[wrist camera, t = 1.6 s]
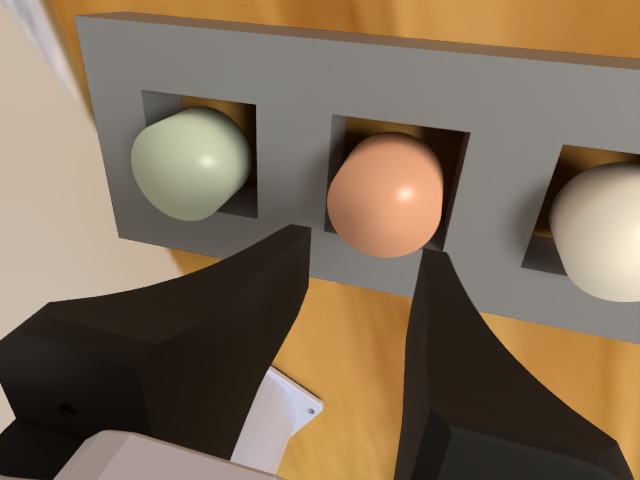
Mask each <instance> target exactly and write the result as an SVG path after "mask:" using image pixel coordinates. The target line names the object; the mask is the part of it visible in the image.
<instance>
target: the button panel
mask: <svg viewBox="0 0 640 480" xmlns="http://www.w3.org/2000/svg"><path fill="white" fill-rule="evenodd" d="M74 18H75V23H76V28H77V33H78V38H79V43H80V48H81V53H82V58H83V63H84V67H85V72H86V77H87V82H88V87H89V92H90V97H91V102H92V107H93V112H94V117H95V122H96V127H97V132H98V137H99V142H100V147H101V152H102V156H103V161H104V166H105V171H106V176H107V181H108V186H109V191H110V196H111V201H112V206H113V211H114V216H115V221H116V225H117V230H118V235H119V238H123V239H128V240H133V241H138V242H143V243H148V244H152V245H158V246H163V247H167V248H172V249H177V250H182V251H187V252H191V253H196V254H201V255H206V256H211V257H216V258H221V259H226V258H228V257H230V256H232V255H234V254H236V253H238V252H240V251H242V250H244V249H246V248H248V247H250V246H252V245H253V244H255V243H257V242H259V241H261V240H262V239H264V238H266V237H268V236H270V235H271V234H273V233H275V232H276V231H278V230H280V229H282V228H284V227H286V226H287V225H290V224H295V225H300V226H306V227H311V228H312V230H311V248H310V267H309V277H313V278H318V279H323V280H328V281H333V282H338V283H343V284H348V285H352V286H357V287H362V288H367V289H372V290H377V291H382V292H387V293H391V294H396V295H401V296H406V297H411V298H413V295H414V291H415V286H416V281H417V276H418V271H419V266H420V262H421V257H422V252H423V248H426V249H432V250H437V251H443V252H447V253H448V255H449V256H450V258H451V261H452V264H453V266H454V268H455V270H456V273H457V275H458V277H459V279H460V281H461V283H462V285H463V287H464V289H465V290H466V292H467V294H468V296H469V297H470V299H471V301H472V303H473V304H474V306H475V307H476V309H477V311H479V312H484V313H489V314H494V315H499V316H504V317H508V318H513V319H518V320H523V321H528V322H533V323H538V324H543V325H547V326H552V327H557V328H562V329H567V330H572V331H577V332H582V333H586V334H591V335H596V336H601V337H606V338H611V339H616V340H621V341H625V342H630V343H635V344H640V301H637V302H616V301H608V300H604V299H600V298H597V297H595V296H592V295H590V294H588V293H586V292H584V291H583V290H581V289H580V288H579V287H578V286H576V285H575V284H574V283H573V282H572V280H571V279H570V278H569V276H568V275H567V273H566V271H565V268H564V266H563V263H562V260H561V258H560V255H559V252H558V250H557V247H556V244H555V242H554V239H552V238H546V237H540V236H534V235H532V232H533V230H534V227H535V224H536V221H537V218H538V215H539V212H540V209H541V207H542V204H543V201H544V198H545V195H546V192H547V189H548V186H549V184H550V181H551V178H552V175H553V172H554V169H555V166H556V163H557V161H558V158H559V155H560V152H561V149H562V146H563V144H565V145H573V146H580V147H588V148H596V149H603V150H611V151H619V152H627V153H634V154H640V59H633V58H622V57H611V56H600V55H589V54H578V53H568V52H557V51H546V50H535V49H524V48H513V47H502V46H491V45H480V44H469V43H459V42H448V41H437V40H426V39H415V38H404V37H393V36H382V35H371V34H360V33H349V32H339V31H328V30H317V29H306V28H295V27H284V26H273V25H262V24H251V23H240V22H229V21H219V20H208V19H197V18H186V17H175V16H164V15H153V14H142V13H131V12H114V13H102V14H89V15H77V16H74ZM181 95H186V96H194V97H202V98H209V99H217V100H225V101H233V102H240V103H248V104H256V128H257V189H256V188H250V187H244V186H242V187H241V188H240V189H239V190H238V191H237V192H236V193H235V194H234V195H232V196H231V197H230V198H229V199H228V200H227V201H226V202H225V203H224V204H223V205H222V206H221V207H220V208H219V209H218V210H216V211H215V212H214V213H213V214H212V215H210V216H209V217H207V218H205V219H202V220H197V221H185V220H180V219H176V218H174V217H171V216H169V215H167V214H165V213H163V212H162V211H160V210H159V209H158V208H156V207H155V206H154V205H153V204H152V203H151V202H150V201H149V200H148V199H147V198H146V197H145V195H144V194H143V193H142V191H141V189H140V188H139V186H138V184H137V182H136V180H135V177H134V174H133V170H132V165H131V152H132V147H133V144H134V142H135V140H136V138H137V136H138V135H139V134H140V133H141V132H142V131H143V130H144V129H146V128H147V127H149V126H151V125H153V124H155V123H157V122H160V121H162V120H164V119H166V118H168V117H170V116H173V115H175V114H177V113H179V112H181V111H183V107H182V97H181ZM347 116H349V117H356V118H364V119H372V120H379V121H387V122H395V123H403V124H410V125H418V126H426V127H433V128H441V129H449V130H457V131H464V137H463V141H462V146H461V150H460V154H459V159H458V163H457V167H456V172H455V176H454V181H453V185H452V189H451V194H450V198H449V203H448V207H447V211H446V216H445V220H440V222H439V225H438V227H437V229H436V231H435V233H434V234H433V236H432V237H431V238H430V240H429V241H428V242H427V243H426V244H424V245H423V246H422V247H421V248H419V249H418V250H416V251H414V252H412V253H410V254H407V255H404V256H399V257H391V258H382V257H375V256H371V255H368V254H365V253H362V252H360V251H358V250H356V249H355V248H353V247H351V246H350V245H349V244H348V243H346V242H345V241H344V240H343V239H342V238H341V237H340V236H339V234H338V233H337V232H336V230H335V229H334V227H333V225H332V223H331V220H330V217H329V214H328V208H327V198H328V192H329V189H330V186H331V183H332V181H333V179H334V178H335V176H336V175H337V173H338V172H339V170H340V168H341V167H342V165H343V155H344V144H345V132H346V121H347Z"/></svg>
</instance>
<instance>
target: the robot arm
mask: <svg viewBox="0 0 640 480" xmlns="http://www.w3.org/2000/svg"><path fill="white" fill-rule="evenodd" d="M311 230H312V228H311V227H306V226H300V225H295V224H290V225H287V226H286V227H284V228H282V229H280V230H278V231H276V232H275V233H273V234H271V235H270V236H268V237H266V238H264V239H262V240H261V241H259V242H257V243H255V244H253V245H252V246H250V247H248V248H246V249H244V250H242V251H240V252H238V253H236V254H234V255H232V256H230V257H228V258H226V259H224V260H222V261H220V262H218V263H215V264H213V265H211V266H208V267H206V268H203V269H201V270H198V271H195V272H193V273H190V274H187V275H184V276H181V277H178V278H175V279H171V280H168V281H165V282H161V283H157V284H154V285H151V286H147V287H143V288H138V289H134V290H130V291H125V292H119V293H114V294H109V295H103V296H97V297H89V298H81V299H74V300H65V301H58V302H57V301H56V302H49V303H47V304H46V305H45V306H44V307H42V308H41V309H40V310H39V311H37V312H36V313H35V314H33V315H32V316H31V317H30V318H28V319H27V320H26V321H24V322H23V323H22V324H21V325H19V326H18V327H17V328H16V329H14V330H13V331H12V332H11V333H9V334H8V335H7V336H5V337H4V338H3V339H2V340H0V384H1V386H2V388H3V390H4V392H5V395H6V397H7V399H8V401H9V404H10V406H11V408H12V410H13V412H14V415H15V417H16V419H15V420H14V421H13V422H12V423H11V424H10V425H9V426H8V427H7V428H6V429H5V430H4V431H3V432H2V433H1V434H0V480H286V479H284V478H282V477H280V476H277V475H276V473H277V470H278V467H279V465H280V462H281V459H282V457H283V454H284V451H285V449H286V446H287V443H288V441H289V438H290V437H291V436H293V435H294V434H295V433H296V432H297V431H299V430H300V429H301V428H302V427H303V426H305V425H306V424H307V423H308V422H309V421H311V420H312V419H313V418H314V417H315V416H317V415H318V414H319V413H320V412H321V411H322V410H323V407H324V404H323V402H322V401H321V400H320V399H318V398H317V397H315V396H314V395H313V394H311V393H310V392H308V391H307V390H305V389H304V388H302V387H301V386H299V385H298V384H297V383H295V382H294V381H292V380H291V379H289V378H288V377H286V376H285V375H283V374H282V373H280V372H279V371H278V370H276V369H275V368H273V367H272V366H271V364H272V362H273V360H274V358H275V356H276V355H277V353H278V351H279V349H280V347H281V345H282V344H283V342H284V340H285V338H286V336H287V334H288V333H289V331H290V329H291V327H292V325H293V323H294V321H295V319H296V318H297V316H298V313H299V311H300V308H301V306H302V303H303V300H304V298H305V295H306V292H307V289H308V285H309V267H310V248H311ZM394 480H634V478H633V475H632V473H631V470H630V468H629V466H628V464H627V462H626V460H625V458H624V456H623V454H622V452H621V450H620V447H619V445H618V443H617V441H616V440H614V439H613V438H611V437H610V436H609V435H607V434H606V433H604V432H603V431H602V430H600V429H599V428H598V427H596V426H595V425H593V424H592V423H591V422H589V421H588V420H586V419H585V418H584V417H582V416H581V415H579V414H578V413H577V412H575V411H574V410H573V409H571V408H570V407H569V406H568V405H566V404H565V403H564V402H563V401H562V400H560V399H559V398H558V397H557V396H556V395H554V394H553V393H552V392H551V391H549V390H548V389H547V388H546V387H545V386H544V385H543V384H541V383H540V382H539V381H538V380H537V379H536V378H535V377H534V376H533V375H532V374H531V373H530V372H529V371H528V370H527V369H526V368H525V367H524V366H523V365H522V364H521V363H520V362H519V361H518V360H517V359H516V358H515V357H514V356H513V355H512V354H511V353H510V352H509V351H508V350H507V349H506V348H505V347H504V345H503V344H502V343H501V342H500V341H499V339H498V338H497V337H496V336H495V335H494V333H493V332H492V331H491V330H490V328H489V327H488V325H487V324H486V323H485V321H484V320H483V318H482V317H481V315H480V314H479V312H478V311H477V309H476V307H475V306H474V304H473V303H472V301H471V299H470V297H469V296H468V294H467V292H466V290H465V289H464V287H463V285H462V283H461V281H460V279H459V277H458V275H457V273H456V270H455V268H454V266H453V264H452V261H451V258H450V256H449V255H448V253H447V252H443V251H437V250H432V249H426V248H423V252H422V257H421V262H420V266H419V271H418V276H417V281H416V286H415V291H414V295H413V300H412V305H411V310H410V316H409V323H408V329H407V335H406V346H405V370H404V395H403V415H402V426H401V433H400V440H399V447H398V454H397V461H396V468H395V475H394Z"/></svg>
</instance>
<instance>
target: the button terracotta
mask: <svg viewBox="0 0 640 480" xmlns="http://www.w3.org/2000/svg"><path fill="white" fill-rule="evenodd" d="M443 184H444V176H443V170H442V167H441V164H440V161H439V159H438V157H437V156H436V154H435V153H434V151H433V150H432V149H431V148H430V147H429V146H428V145H427V144H426V143H424V142H423V141H421V140H420V139H418V138H416V137H414V136H412V135H409V134H406V133H401V132H383V133H378V134H375V135H372V136H370V137H368V138H366V139H364V140H363V141H361V142H360V143H359V144H358V145H357V146H356V147H355V148H354V149H353V150H352V151H351V153H350V154H349V156H348V157H347V159H346V161H345V162H344V164H343V165H342V167H341V168H340V170H339V172H338V173H337V175H336V176H335V178H334V179H333V181H332V183H331V186H330V189H329V192H328V198H327V208H328V214H329V217H330V220H331V223H332V225H333V227H334V229H335V230H336V232H337V233H338V234H339V236H340V237H341V238H342V239H343V240H344V241H345V242H346V243H348V244H349V245H350V246H351V247H353V248H355V249H356V250H358V251H360V252H362V253H365V254H368V255H371V256H375V257H382V258H391V257H399V256H404V255H407V254H410V253H412V252H414V251H416V250H418V249H419V248H421V247H422V246H423V245H424V244H426V243H427V242H428V241H429V240H430V238H431V237H432V236H433V234H434V233H435V231H436V229H437V227H438V225H439V222H440V218H441V211H442V197H443Z"/></svg>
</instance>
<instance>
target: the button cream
mask: <svg viewBox="0 0 640 480" xmlns="http://www.w3.org/2000/svg"><path fill="white" fill-rule="evenodd" d="M549 227H550V231H551V234H552V236H553V239H554V242H555V244H556V247H557V250H558V252H559V255H560V258H561V260H562V263H563V266H564V268H565V271H566V273H567V275H568V276H569V278H570V279H571V280H572V282H573V283H574V284H575V285H576V286H578V287H579V288H580V289H581V290H583V291H584V292H586V293H588V294H590V295H592V296H595V297H597V298H600V299H604V300H608V301H616V302H637V301H640V164H636V163H628V162H615V163H608V164H603V165H599V166H596V167H593V168H590V169H588V170H586V171H584V172H582V173H580V174H579V175H577V176H575V177H574V178H573V179H571V180H570V181H569V182H568V183H567V184H566V185H565V186H563V187H562V189H561V190H560V191H559V192H558V194H557V195H556V197H555V199H554V200H553V203H552V205H551V208H550V212H549Z"/></svg>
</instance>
